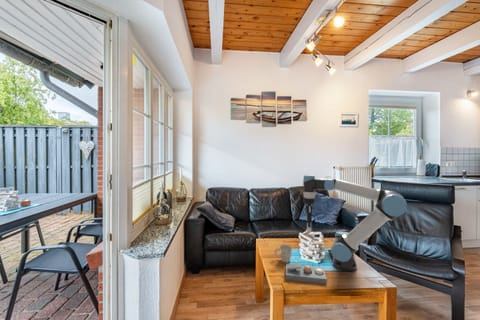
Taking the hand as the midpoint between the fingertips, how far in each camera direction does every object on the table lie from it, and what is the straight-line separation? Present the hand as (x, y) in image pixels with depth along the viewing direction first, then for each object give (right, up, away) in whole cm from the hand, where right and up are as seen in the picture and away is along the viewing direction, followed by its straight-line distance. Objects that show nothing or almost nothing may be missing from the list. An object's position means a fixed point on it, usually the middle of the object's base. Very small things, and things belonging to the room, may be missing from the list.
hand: (309, 231), depth 157 cm
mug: (-16, -25, +10) cm, 31 cm away
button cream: (+2, -23, -13) cm, 27 cm away
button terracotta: (-5, -22, -12) cm, 25 cm away
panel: (-6, -25, -11) cm, 28 cm away
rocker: (-12, -19, -10) cm, 25 cm away
